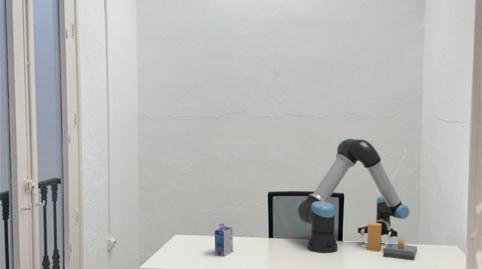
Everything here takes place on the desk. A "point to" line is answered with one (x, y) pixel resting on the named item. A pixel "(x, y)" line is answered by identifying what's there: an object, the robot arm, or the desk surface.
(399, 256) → the plate
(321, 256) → the desk surface
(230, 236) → the ink cartridge box
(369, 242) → the orange tan rectangular block
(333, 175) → the robot arm
